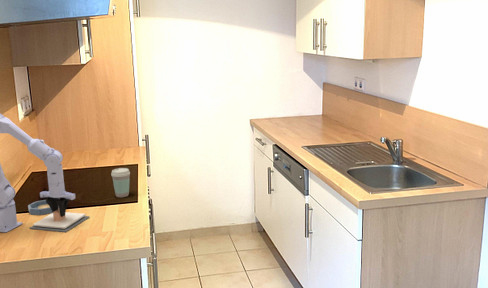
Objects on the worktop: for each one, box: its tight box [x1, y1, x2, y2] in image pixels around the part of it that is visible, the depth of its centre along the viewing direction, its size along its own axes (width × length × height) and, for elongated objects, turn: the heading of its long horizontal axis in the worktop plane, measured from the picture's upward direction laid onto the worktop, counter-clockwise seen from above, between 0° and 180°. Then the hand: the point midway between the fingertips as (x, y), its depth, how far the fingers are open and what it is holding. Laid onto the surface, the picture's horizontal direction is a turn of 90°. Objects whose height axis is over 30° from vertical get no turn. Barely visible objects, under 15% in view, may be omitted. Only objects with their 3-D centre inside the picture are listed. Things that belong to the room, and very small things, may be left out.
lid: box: [32, 209, 87, 229], centre depth 198 cm, size 14×14×4 cm
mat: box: [29, 215, 90, 233], centre depth 199 cm, size 16×16×1 cm
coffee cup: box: [110, 167, 131, 198], centre depth 231 cm, size 8×8×12 cm
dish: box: [27, 199, 59, 216], centre depth 214 cm, size 12×12×2 cm
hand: (59, 215), depth 198 cm, fingers closed on lid, 2 cm apart
